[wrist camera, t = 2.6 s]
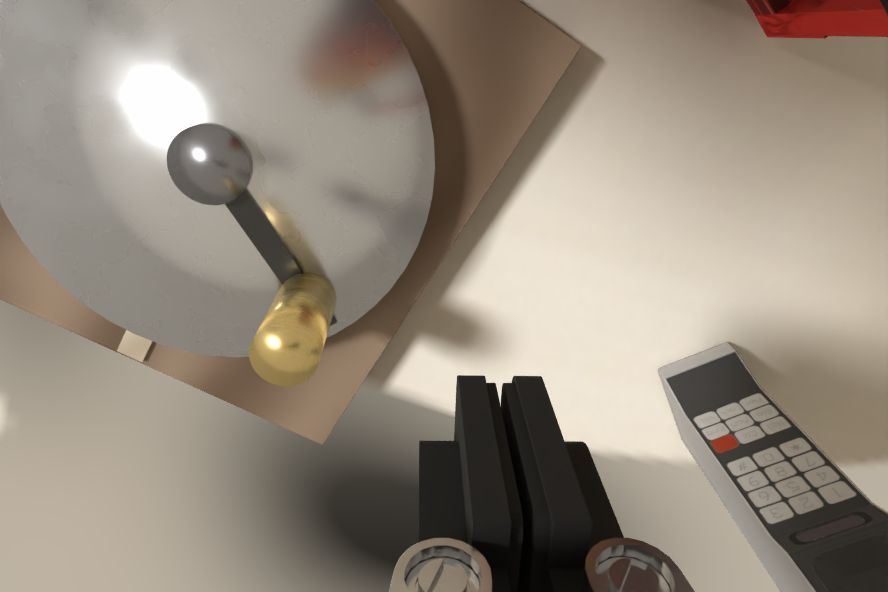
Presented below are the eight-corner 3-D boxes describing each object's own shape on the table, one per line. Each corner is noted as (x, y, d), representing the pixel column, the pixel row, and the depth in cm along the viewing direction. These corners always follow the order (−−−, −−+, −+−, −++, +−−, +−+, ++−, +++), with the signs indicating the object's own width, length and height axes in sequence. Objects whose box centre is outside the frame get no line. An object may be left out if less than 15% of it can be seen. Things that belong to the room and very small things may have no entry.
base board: (-74, 243, 27) (-103, 256, 26) (91, -298, 20) (64, -326, 18) (326, 427, 32) (321, 447, 30) (572, 44, 25) (582, 45, 23)
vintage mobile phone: (724, 338, 31) (1604, 1215, 8) (745, 411, 33) (1503, 1288, 10) (654, 365, 31) (1295, 1266, 8) (679, 436, 33) (1257, 1327, 10)
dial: (-100, 65, 23) (-284, 77, 17) (279, -197, 20) (221, -293, 14) (186, 398, 29) (127, 493, 23) (503, 233, 26) (529, 292, 20)
